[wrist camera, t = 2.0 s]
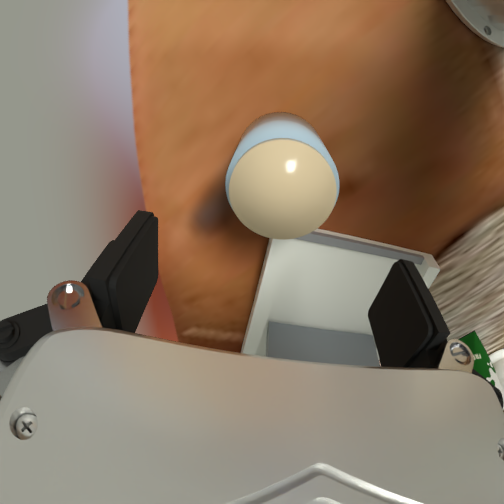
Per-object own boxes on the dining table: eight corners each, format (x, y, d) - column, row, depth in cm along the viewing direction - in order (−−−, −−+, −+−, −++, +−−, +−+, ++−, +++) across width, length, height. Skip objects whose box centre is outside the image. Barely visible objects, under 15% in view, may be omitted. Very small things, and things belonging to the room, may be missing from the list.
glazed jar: (246, 104, 20) (233, 124, 14) (330, 123, 21) (356, 152, 14) (233, 181, 24) (216, 232, 18) (310, 196, 24) (322, 252, 18)
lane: (274, 219, 26) (273, 238, 23) (431, 254, 27) (442, 273, 24) (238, 359, 38) (236, 378, 36) (354, 372, 39) (356, 389, 36)
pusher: (269, 321, 32) (266, 372, 26) (372, 334, 32) (383, 381, 27) (253, 366, 37) (250, 410, 32) (342, 376, 38) (347, 417, 32)
